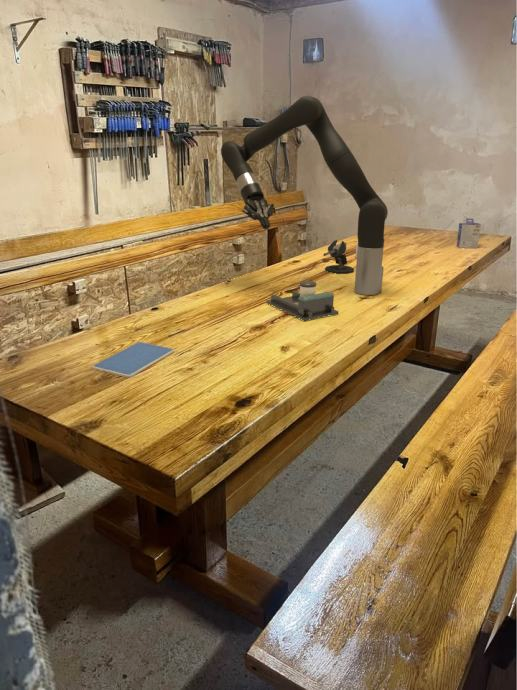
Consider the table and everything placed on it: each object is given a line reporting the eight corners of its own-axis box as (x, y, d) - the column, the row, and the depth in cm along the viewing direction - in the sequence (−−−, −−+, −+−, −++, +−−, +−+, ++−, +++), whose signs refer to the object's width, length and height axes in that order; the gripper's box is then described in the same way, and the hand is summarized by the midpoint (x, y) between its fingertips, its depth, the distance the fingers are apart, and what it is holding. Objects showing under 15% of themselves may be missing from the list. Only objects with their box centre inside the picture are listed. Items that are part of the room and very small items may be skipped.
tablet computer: (129, 380, 131) (129, 375, 130) (90, 370, 136) (89, 365, 136) (176, 353, 147) (175, 348, 146) (139, 345, 152) (138, 340, 152)
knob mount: (299, 297, 194) (299, 279, 192) (338, 314, 177) (339, 294, 175) (266, 303, 188) (266, 285, 185) (303, 321, 170) (304, 301, 168)
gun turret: (312, 274, 226) (313, 243, 221) (333, 265, 241) (335, 236, 236) (339, 279, 219) (341, 247, 214) (359, 269, 235) (361, 239, 230)
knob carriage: (309, 303, 184) (311, 279, 180) (320, 308, 179) (322, 283, 176) (293, 306, 180) (293, 282, 177) (303, 311, 175) (304, 286, 172)
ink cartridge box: (474, 246, 284) (478, 218, 279) (478, 248, 279) (482, 219, 273) (455, 246, 284) (459, 218, 279) (459, 248, 279) (463, 219, 274)
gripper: (237, 182, 190) (255, 222, 184) (269, 181, 196) (287, 219, 191) (230, 196, 196) (247, 235, 191) (261, 194, 202) (278, 232, 197)
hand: (267, 227), depth 191 cm, fingers closed
